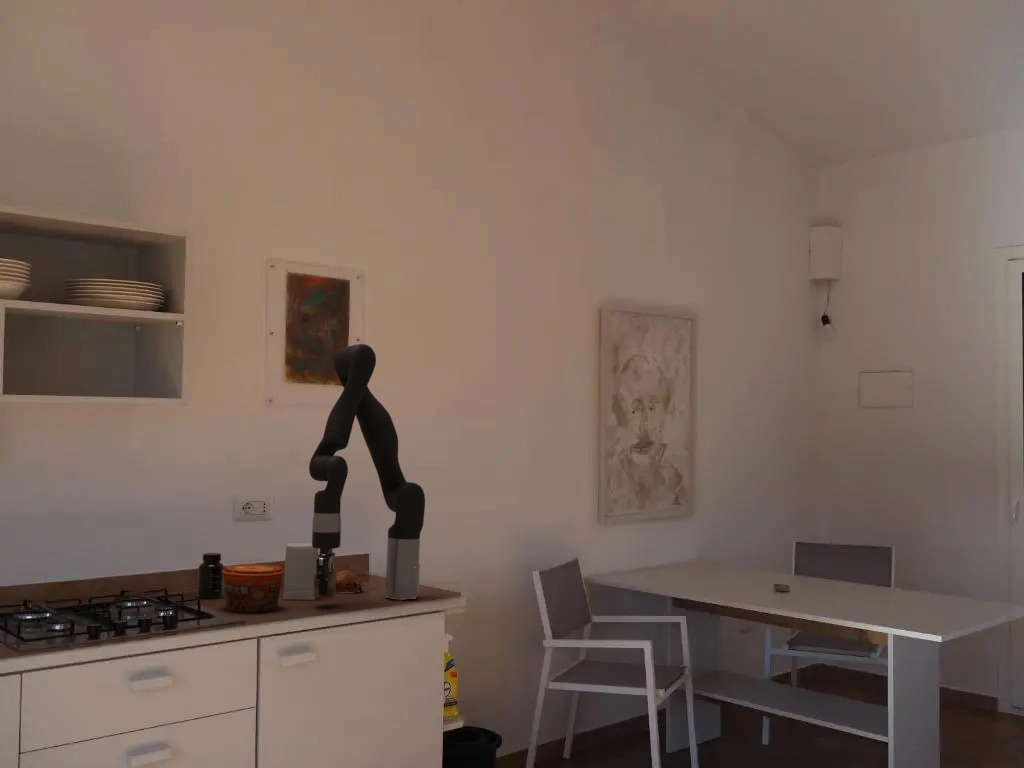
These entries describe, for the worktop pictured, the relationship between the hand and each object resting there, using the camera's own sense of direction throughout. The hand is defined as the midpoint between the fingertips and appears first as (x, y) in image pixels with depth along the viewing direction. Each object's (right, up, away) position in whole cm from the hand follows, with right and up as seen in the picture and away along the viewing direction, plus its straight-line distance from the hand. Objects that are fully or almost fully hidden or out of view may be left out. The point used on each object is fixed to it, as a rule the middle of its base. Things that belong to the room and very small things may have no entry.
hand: (324, 593), depth 265 cm
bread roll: (+1, -6, +29) cm, 29 cm away
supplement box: (-10, -4, +14) cm, 18 cm away
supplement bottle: (-34, -3, +9) cm, 35 cm away
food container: (-18, -3, -7) cm, 19 cm away
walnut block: (0, -1, 0) cm, 1 cm away
